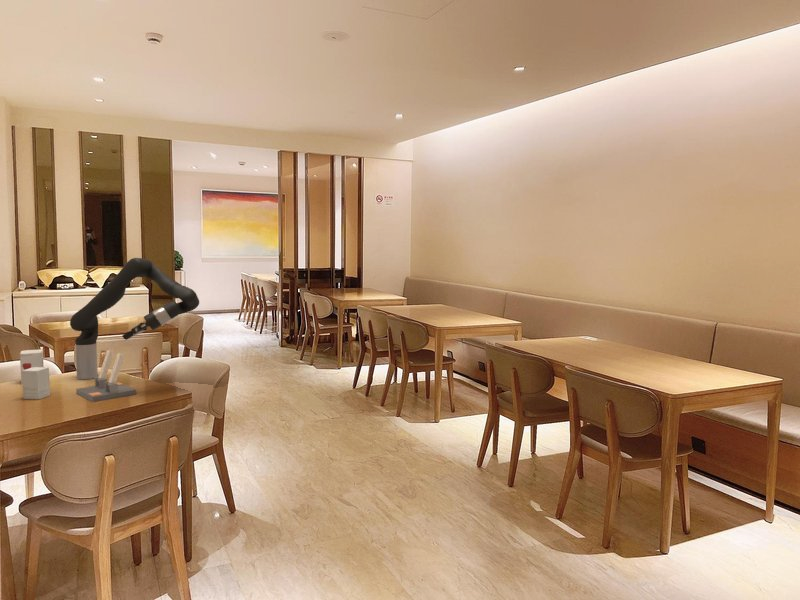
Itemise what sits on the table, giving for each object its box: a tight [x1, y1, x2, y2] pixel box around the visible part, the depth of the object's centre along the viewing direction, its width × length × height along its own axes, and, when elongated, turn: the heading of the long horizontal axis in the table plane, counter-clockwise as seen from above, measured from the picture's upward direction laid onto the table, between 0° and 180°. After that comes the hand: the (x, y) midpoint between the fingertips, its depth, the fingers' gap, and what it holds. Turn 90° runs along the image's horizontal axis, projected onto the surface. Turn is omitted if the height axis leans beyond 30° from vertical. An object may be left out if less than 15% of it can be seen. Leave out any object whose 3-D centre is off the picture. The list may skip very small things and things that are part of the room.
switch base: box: [75, 377, 137, 403], centre depth 246 cm, size 20×18×6 cm
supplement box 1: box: [19, 349, 44, 385], centre depth 266 cm, size 9×9×15 cm
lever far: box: [97, 349, 115, 382], centre depth 251 cm, size 3×2×15 cm
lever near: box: [107, 352, 126, 387], centre depth 243 cm, size 3×2×15 cm
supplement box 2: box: [21, 366, 51, 400], centre depth 238 cm, size 7×7×13 cm
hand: (123, 337), depth 245 cm, fingers open, 8 cm apart
